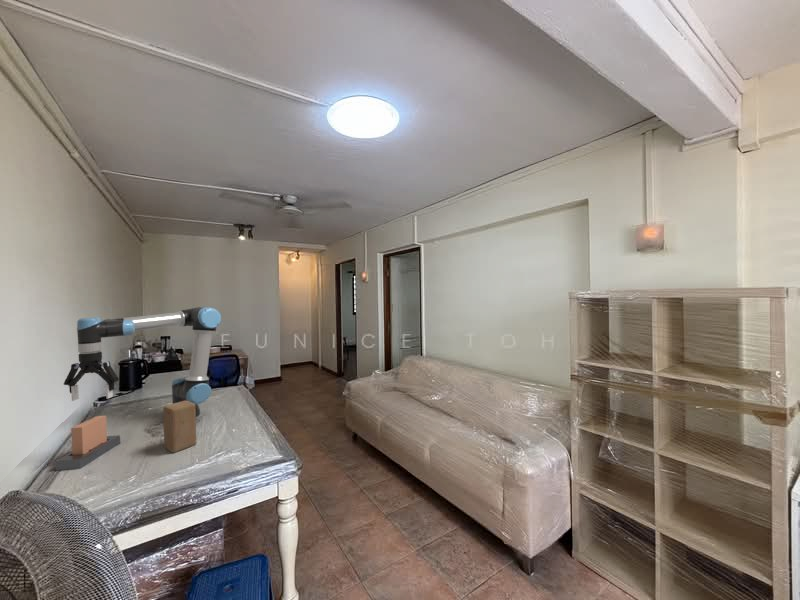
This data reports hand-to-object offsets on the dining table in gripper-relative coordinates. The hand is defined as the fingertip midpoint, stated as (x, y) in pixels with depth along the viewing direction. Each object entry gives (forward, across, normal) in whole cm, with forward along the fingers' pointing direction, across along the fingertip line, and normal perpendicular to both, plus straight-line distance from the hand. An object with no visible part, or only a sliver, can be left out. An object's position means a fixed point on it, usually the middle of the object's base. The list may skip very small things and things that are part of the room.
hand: (92, 398), depth 142 cm
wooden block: (+25, -36, 0) cm, 44 cm away
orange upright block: (+23, 0, +3) cm, 24 cm away
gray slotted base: (+25, 0, +3) cm, 25 cm away
